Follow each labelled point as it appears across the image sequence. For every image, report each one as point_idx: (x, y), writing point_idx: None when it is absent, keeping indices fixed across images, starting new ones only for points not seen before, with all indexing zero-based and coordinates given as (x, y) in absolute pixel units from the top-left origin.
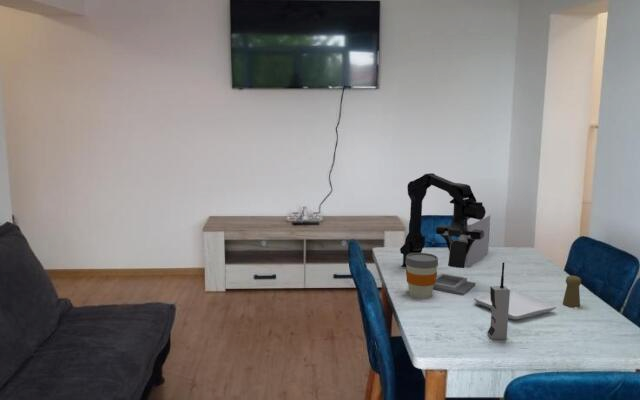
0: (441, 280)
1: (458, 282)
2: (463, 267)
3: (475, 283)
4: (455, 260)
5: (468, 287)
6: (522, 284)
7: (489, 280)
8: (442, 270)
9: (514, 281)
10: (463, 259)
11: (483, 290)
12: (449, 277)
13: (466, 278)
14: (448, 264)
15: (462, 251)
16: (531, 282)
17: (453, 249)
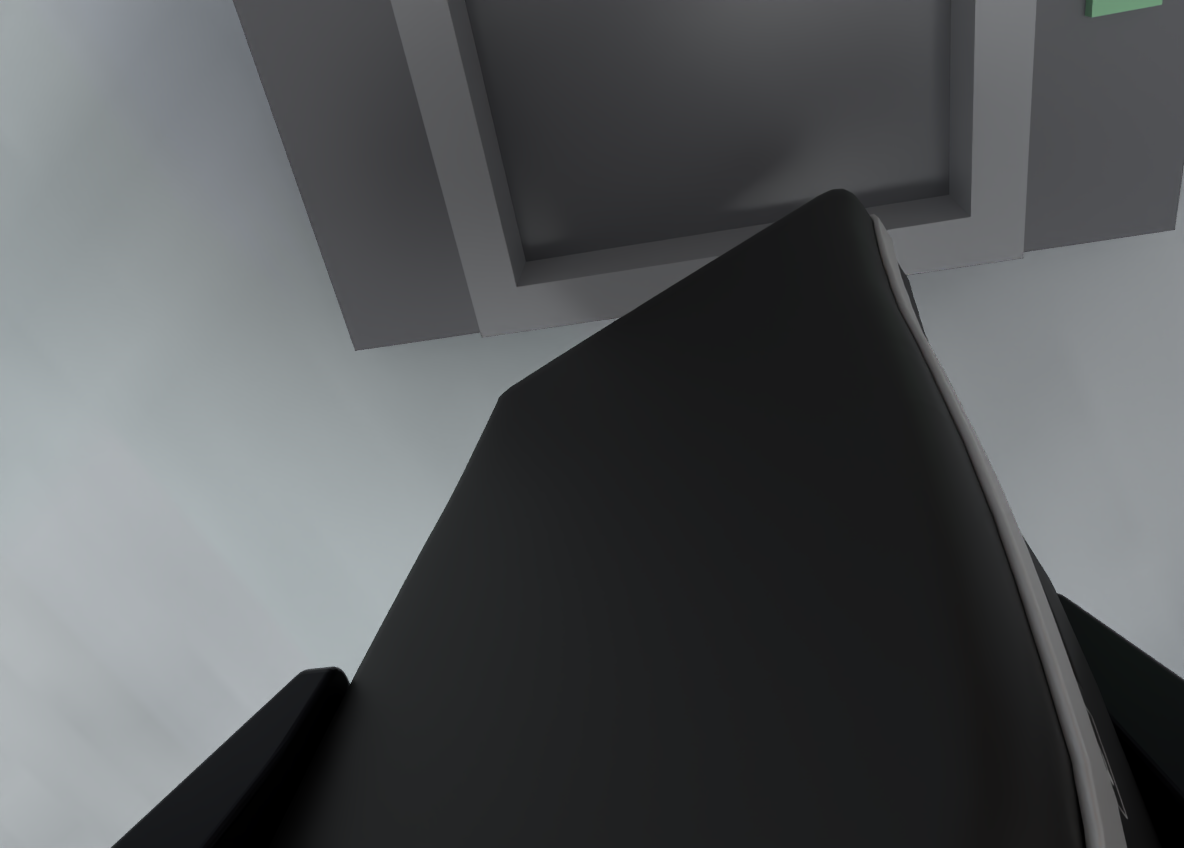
0: (909, 18)
1: (572, 156)
2: (505, 393)
3: (357, 343)
4: (674, 356)
5: (260, 6)
6: (27, 715)
7: (368, 627)
8: (1124, 618)
9: (155, 750)
10: (467, 501)
11: (111, 179)
12: None
13: (476, 311)
14: (861, 212)
15: (442, 677)
16: (30, 811)
17: (789, 547)
